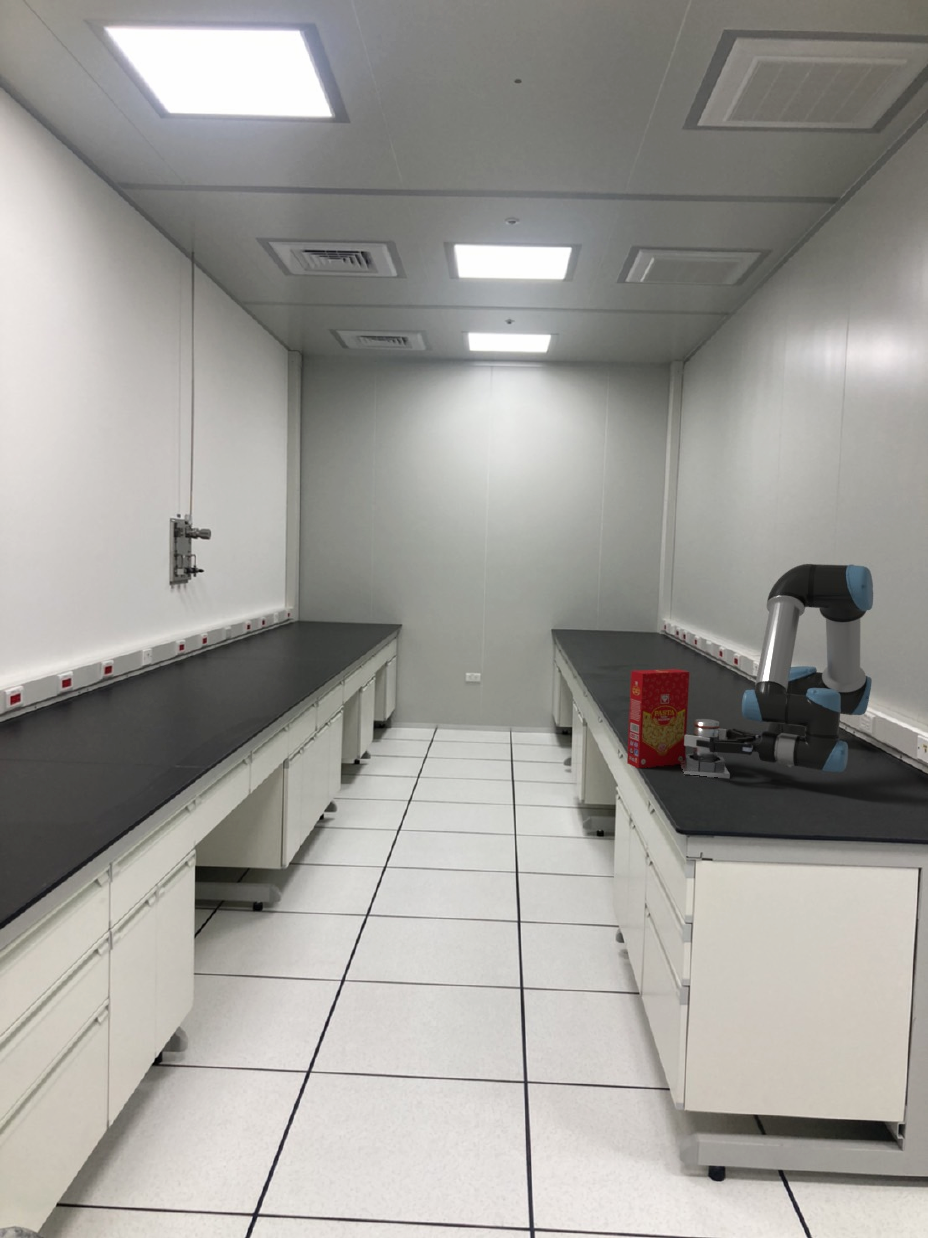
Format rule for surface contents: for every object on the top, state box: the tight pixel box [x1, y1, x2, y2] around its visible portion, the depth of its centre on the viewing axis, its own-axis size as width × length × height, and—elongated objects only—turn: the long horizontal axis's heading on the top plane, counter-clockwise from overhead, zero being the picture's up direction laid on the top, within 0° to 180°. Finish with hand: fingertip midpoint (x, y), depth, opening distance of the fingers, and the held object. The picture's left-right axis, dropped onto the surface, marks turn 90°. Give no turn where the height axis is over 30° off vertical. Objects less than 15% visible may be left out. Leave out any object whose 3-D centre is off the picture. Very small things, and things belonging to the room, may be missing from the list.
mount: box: [679, 752, 731, 779], centre depth 211 cm, size 11×11×4 cm
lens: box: [692, 718, 720, 762], centre depth 211 cm, size 6×6×12 cm
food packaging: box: [626, 668, 690, 769], centre depth 217 cm, size 15×5×25 cm, turn 112°
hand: (693, 735), depth 212 cm, fingers open, 13 cm apart
